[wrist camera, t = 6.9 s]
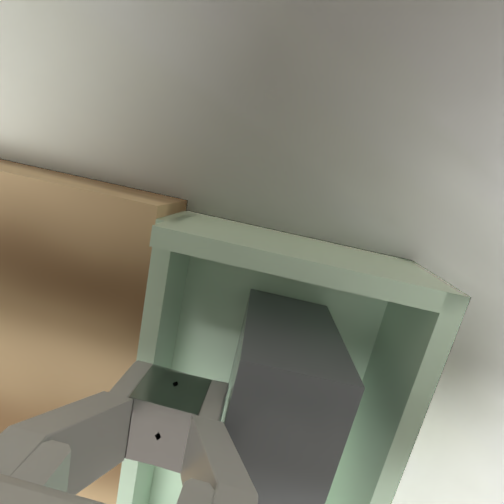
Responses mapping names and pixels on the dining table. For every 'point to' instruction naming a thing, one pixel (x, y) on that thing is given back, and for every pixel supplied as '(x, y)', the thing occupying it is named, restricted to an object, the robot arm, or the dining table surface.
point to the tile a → (290, 398)
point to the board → (70, 290)
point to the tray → (311, 290)
